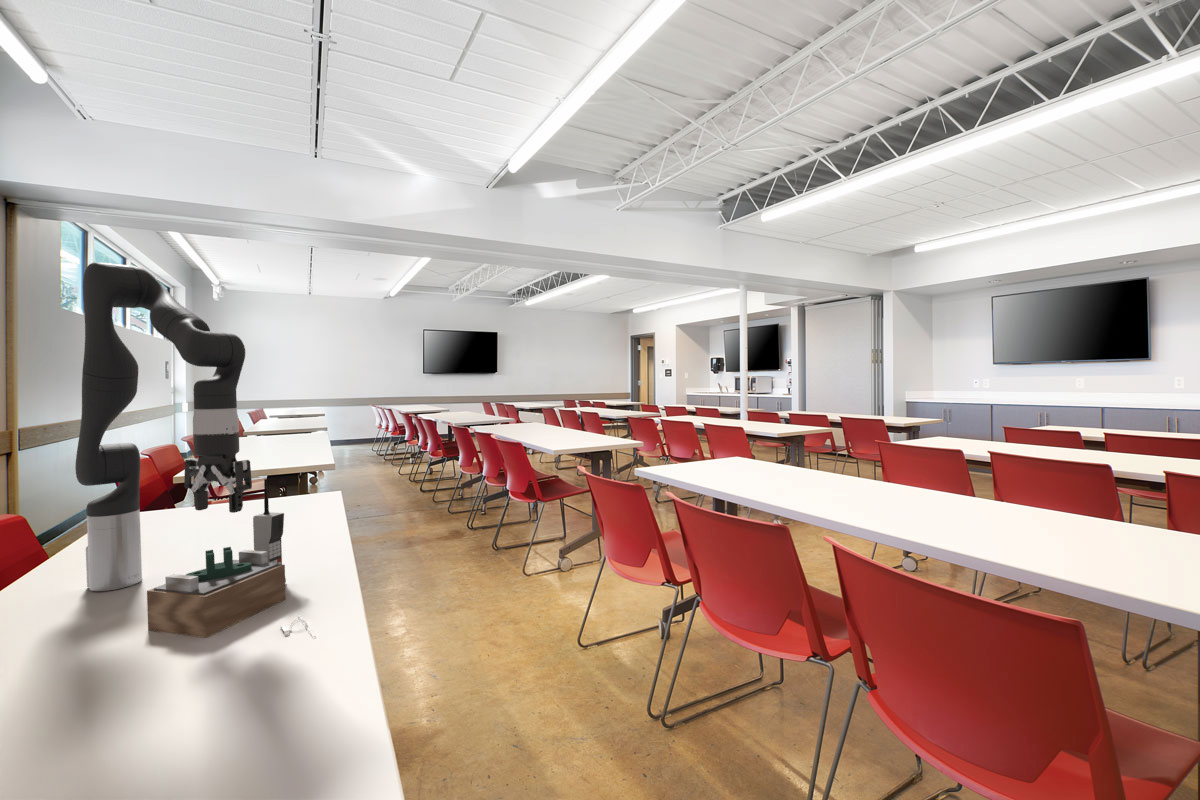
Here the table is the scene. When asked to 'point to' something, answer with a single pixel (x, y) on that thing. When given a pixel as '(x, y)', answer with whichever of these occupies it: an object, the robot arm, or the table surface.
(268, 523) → the vintage mobile phone
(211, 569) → the mount
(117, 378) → the robot arm
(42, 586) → the table surface
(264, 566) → the tray
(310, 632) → the picture light
